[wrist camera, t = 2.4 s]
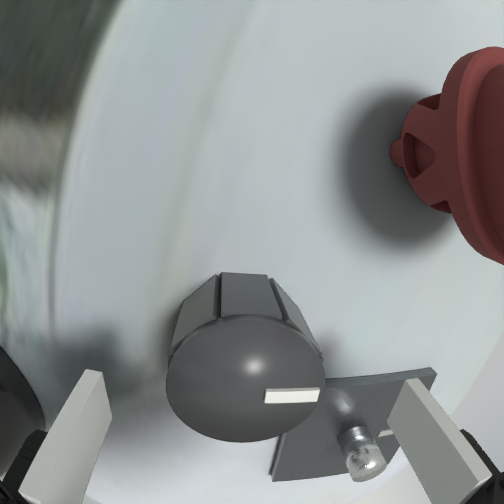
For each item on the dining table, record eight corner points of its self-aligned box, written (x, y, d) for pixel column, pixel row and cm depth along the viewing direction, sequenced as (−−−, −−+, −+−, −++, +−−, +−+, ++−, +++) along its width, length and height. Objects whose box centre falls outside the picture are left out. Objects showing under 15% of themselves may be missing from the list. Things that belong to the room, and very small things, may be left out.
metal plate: (270, 473, 23) (278, 516, 18) (294, 380, 20) (310, 432, 15) (385, 457, 24) (402, 491, 19) (431, 367, 21) (463, 402, 16)
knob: (181, 370, 19) (170, 441, 13) (181, 269, 17) (160, 322, 11) (288, 374, 19) (309, 442, 13) (305, 277, 18) (342, 329, 12)
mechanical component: (431, 55, 14) (495, 175, 17) (330, 129, 16) (415, 260, 18) (573, 8, 3) (627, 202, 5) (512, 82, 4) (561, 352, 6)
